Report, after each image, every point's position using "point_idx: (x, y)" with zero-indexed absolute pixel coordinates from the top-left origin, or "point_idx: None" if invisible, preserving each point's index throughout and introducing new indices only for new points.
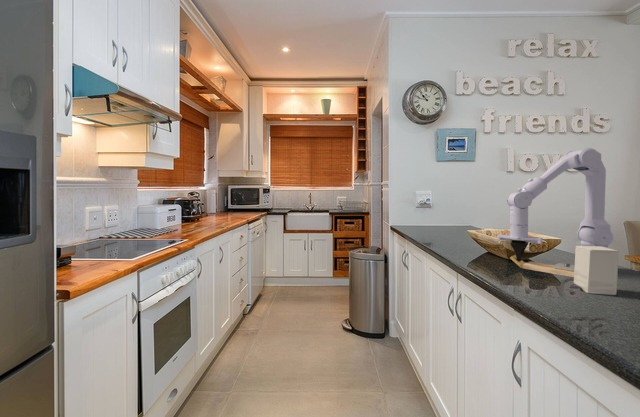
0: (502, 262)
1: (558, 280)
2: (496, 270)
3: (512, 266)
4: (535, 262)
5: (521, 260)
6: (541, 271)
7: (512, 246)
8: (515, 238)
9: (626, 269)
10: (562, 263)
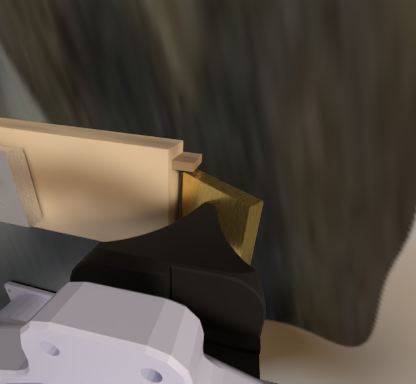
0: (317, 278)
1: (4, 49)
2: (324, 15)
3: None
4: None
5: None
6: (89, 132)
7: (235, 258)
8: (94, 311)
9: None
10: (14, 223)
